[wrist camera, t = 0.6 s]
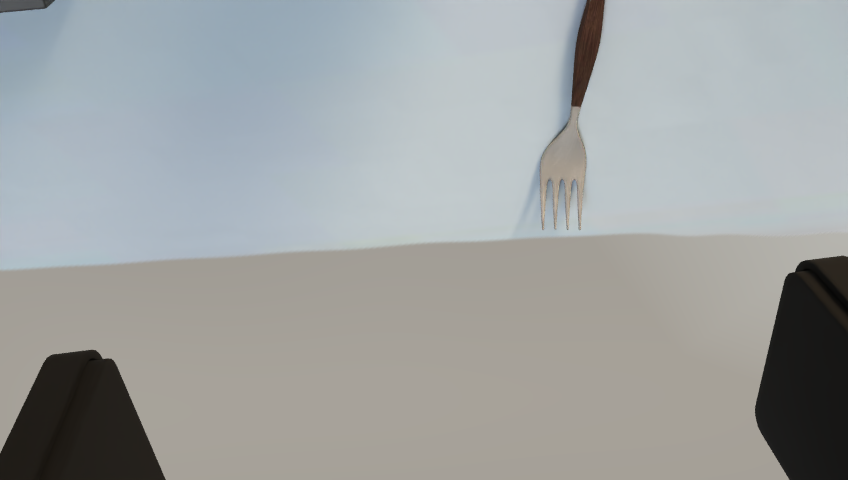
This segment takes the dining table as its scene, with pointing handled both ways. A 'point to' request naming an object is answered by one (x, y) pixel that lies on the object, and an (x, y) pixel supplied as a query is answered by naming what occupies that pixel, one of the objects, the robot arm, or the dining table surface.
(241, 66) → the dining table surface
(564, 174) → the fork
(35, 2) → the base bin
